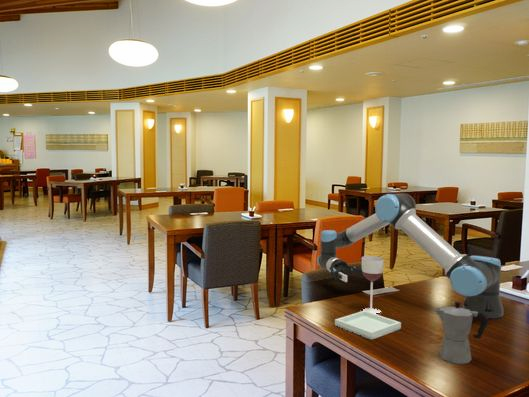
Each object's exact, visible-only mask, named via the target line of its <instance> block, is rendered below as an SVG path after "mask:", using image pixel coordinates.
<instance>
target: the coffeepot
mask: <svg viewBox="0 0 529 397" xmlns="http://www.w3.org/2000/svg"><path fill="white" fill-rule="evenodd" d="M434 312H436V314H437V315H438V317H439V318H440V321H441V322H442V328H443V329H442V330H443V331H444V335H443V338H442V342H441V346H440V351H439V356H440V358H441V359H442V360H443V361H445V362H448V363H450V364H451V363H452V364H456V365H466V364H469V363H470V362H471V361H472V360H473V359H472V353H471V346H470V345H471V344H470V340H469V335H470V332H471V329H472V323H473V319H481V322H480V327H479V328H478V332H477V334H472V336H473V338H474V339H481V338H482V337H483V335H484V332H485V330H486V328H487V326H488V324H489V318H488V317H487V316H486V315H485V314H484V313H483V312H475V311H470V310H468V309H464V308H463V307H461V302H459V301H454V306H446V307H445V306H444V307H439V308H435V309H434Z"/></svg>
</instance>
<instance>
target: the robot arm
mask: <svg viewBox="0 0 529 397" xmlns="http://www.w3.org/2000/svg"><path fill="white" fill-rule="evenodd" d="M416 203H417V202H416V201H415V199H414V198H413V196H411V195H409V193H404V192H402V193H401V192H400V193H386V194H384V195H382V196H380V197H379V198H378V199H377V201H376V203H375V205H374V206H375V207H374V208H375V213H374V214H372V215H370V216H368V217H366V218H364V219H362V220H361V221H359V222H357V223H355V224H352V226H350V227H348V228H346V229H345V230H343V231H340V232H337V231H336V230H333V229H327V230H325V229H324V230H322V231H321V233H320V254H319V255H318V257H317V259H316V262H317V265H318V266H319V268H321V269H322V270H325V271H328V273H329V274H330V279H333V278H334V280H335V281H338V280H341V281H343V282H345V283H347V282H348V275H352V276H353V275H361V276H364V275H363V272H362V266H357V265H353V266H351V265H348V263H347V262H346V261H345V260H342V259H340V258H338V257H337V249H340V248H345V247H346V248H347V247H350V246H352V245H353V244H354V243H356V242H358V241H359V240H361V239H363V238H365V237H367V236H369V235H372V234H373V233H375V232H377V231H379V230H381V229H382V228H384V227H386V226H389V225H391V226H392V227H393V228H394V229H395V230H401V231H403V233H405V235H407V236H408V237H409V238H410V239H411V240H412V241H414V243H416V244H417V245H418V247H420V248H421V249H422V251H424V252H425V253H426V254H427V255H428V256H430V257H431V259H433V260H434V261H435V262H436V263H437V264H438V265H439V266H440V267H442V269H444V274H445V276H446V277H447V278H448V279H449V281H450V286H451V288H452V289H453V290H454V291H455V292H456V294H457V293H458V294H459V295H461V296H464V297H465V299H464V301H463V303H462V308H464V309H468V310H470V311H475V312H483V313H484V314H485V315H486V316H487V317H488V319H499V318H500V319H501V318H502V317H503V316H504V306H503V304H502V300H501V297H500V291H501V290H500V287H501V274H502V273H501V271H502V270H501V269H502V263H501V260H500V258H495V257H492V256H491V257H489V256H483V255H468V254H466V253H464V254H462V253H460V252H459V251H458V250H456V249H455V248H454V247H453V246H452V245H451V244H450V243H449V242H447V241H446V240H445V238H443V237H442V236H441V235H439V234H438V232H437V231H435V230H434V229H433V228H432V227H431V226H429V225H428V223H426V222H425V221H423V220H422V219H421V218H420V217H419V216H418V215H417V213H416V212H417V211H416V208H417V205H416Z"/></svg>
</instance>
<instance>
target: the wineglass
mask: <svg viewBox="0 0 529 397" xmlns="http://www.w3.org/2000/svg"><path fill="white" fill-rule="evenodd" d="M360 258H361V267H362V272H363V275H362V276H364V277H365V279H367V280H368V281H370V300H369V307H365V309H363V308H362V309H363V311H367V312H370V313H373V314H376V313H380V312H381V313H382V311H381V310H380V309H378V308H375V309H374V308H373V296H374V294H373V291H374V290H373V289H374V287H373V286H374V282H375V281H377V280H379V279H380V278H381V276H382V275H383V274H382V273H383V271H384V270H383V269H384V257H381V256H376V255H364V256H362V257H360ZM377 309H378V310H377ZM381 313H380V314H381Z"/></svg>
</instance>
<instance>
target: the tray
mask: <svg viewBox="0 0 529 397" xmlns="http://www.w3.org/2000/svg"><path fill="white" fill-rule="evenodd" d="M334 326H335V327H337V326H338V327H337V328H339V327H340V329H342V328H343V330H345V331H347V330H348V332H350V333H352V332H353V334H356V335H358V336H360V335H361V337H363V338H366V339H368V340H374V339H377V338H380V337H383V336H385V335H388V334H390V333H394V332H395V331H399V330H401V328H402V322H400V321H398V320H395V319H392V318H389V317H385V316H382V315H381V314H373V313H370V312H367V311H361V310H360V311H358V312H355V313H352V314H349V315H345V316H342V317H338V318H334Z"/></svg>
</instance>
